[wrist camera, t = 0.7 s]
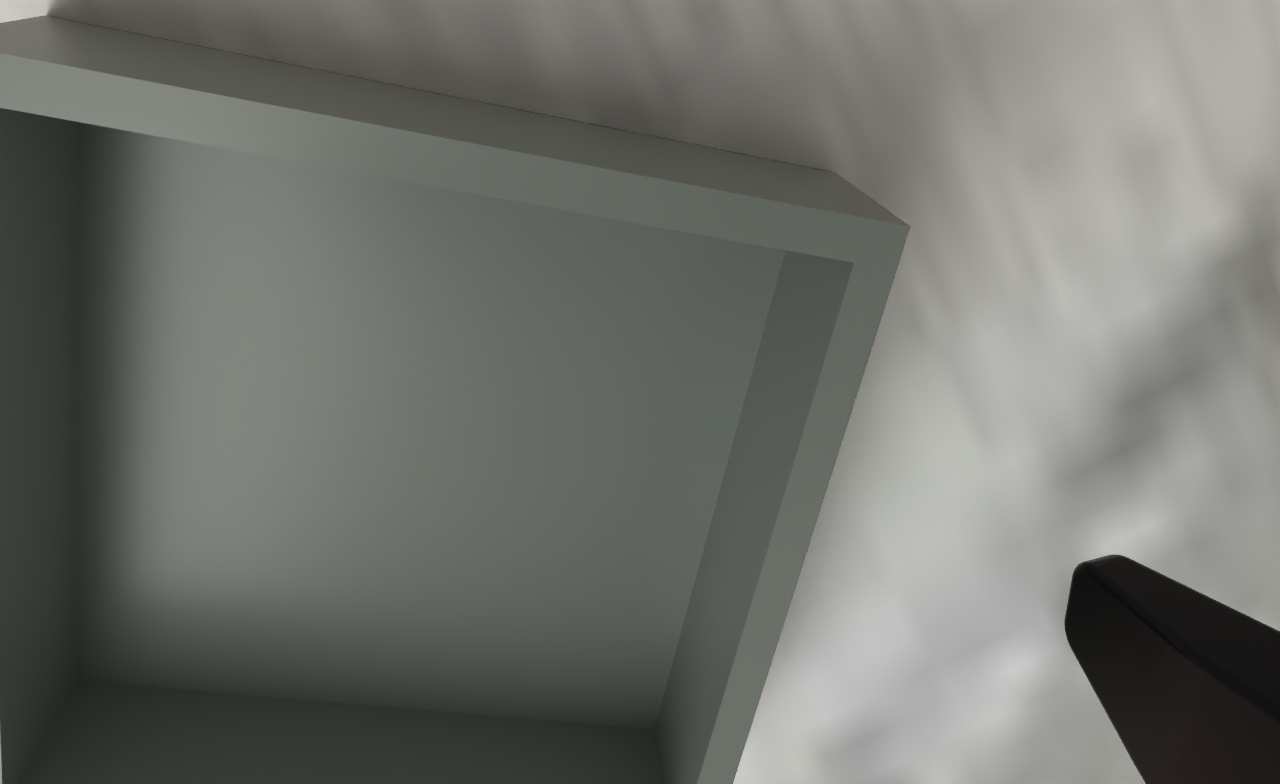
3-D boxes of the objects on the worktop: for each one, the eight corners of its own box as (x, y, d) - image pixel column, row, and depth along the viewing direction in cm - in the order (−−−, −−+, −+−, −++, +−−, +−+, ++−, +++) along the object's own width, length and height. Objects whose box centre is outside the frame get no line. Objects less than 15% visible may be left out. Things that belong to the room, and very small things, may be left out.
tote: (673, 739, 28) (702, 878, 24) (51, 687, 25) (-40, 836, 21) (835, 172, 22) (910, 226, 18) (45, 15, 19) (-83, 36, 15)
